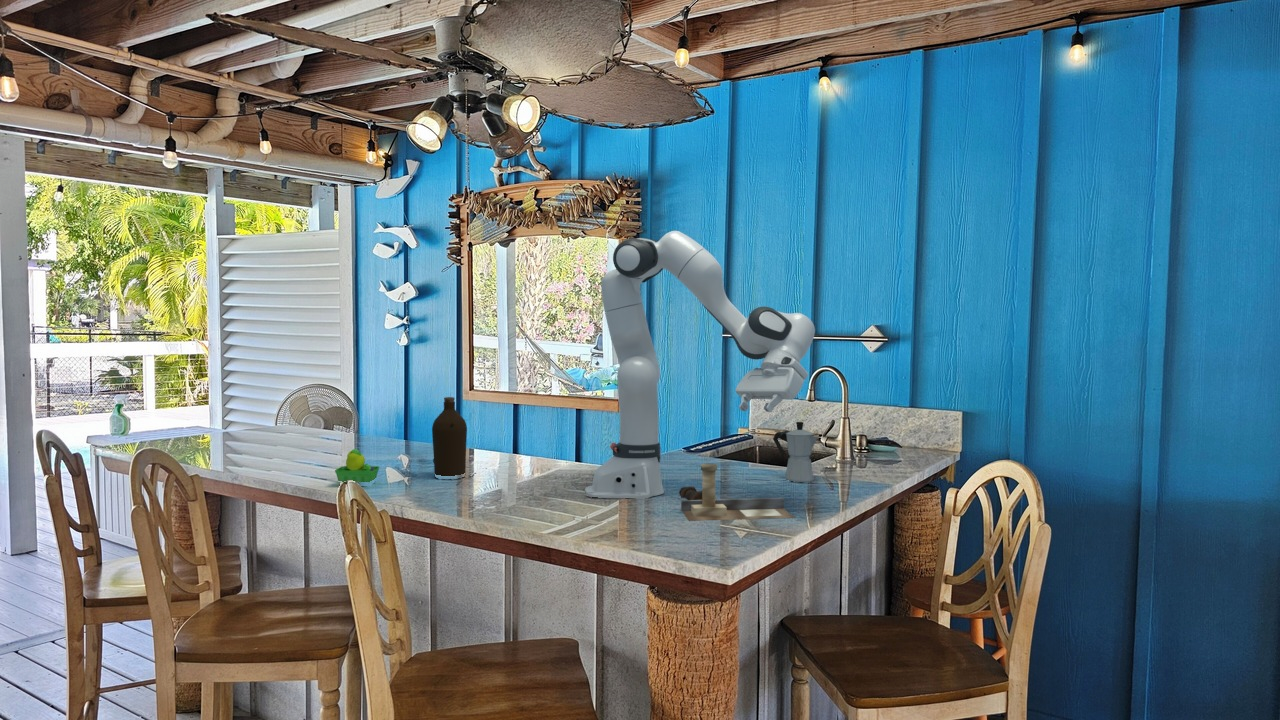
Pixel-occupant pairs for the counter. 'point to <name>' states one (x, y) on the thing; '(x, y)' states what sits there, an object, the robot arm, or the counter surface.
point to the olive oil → (449, 441)
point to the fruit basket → (356, 469)
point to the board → (741, 509)
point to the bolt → (690, 493)
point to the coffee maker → (798, 453)
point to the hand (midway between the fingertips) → (754, 410)
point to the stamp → (708, 494)
